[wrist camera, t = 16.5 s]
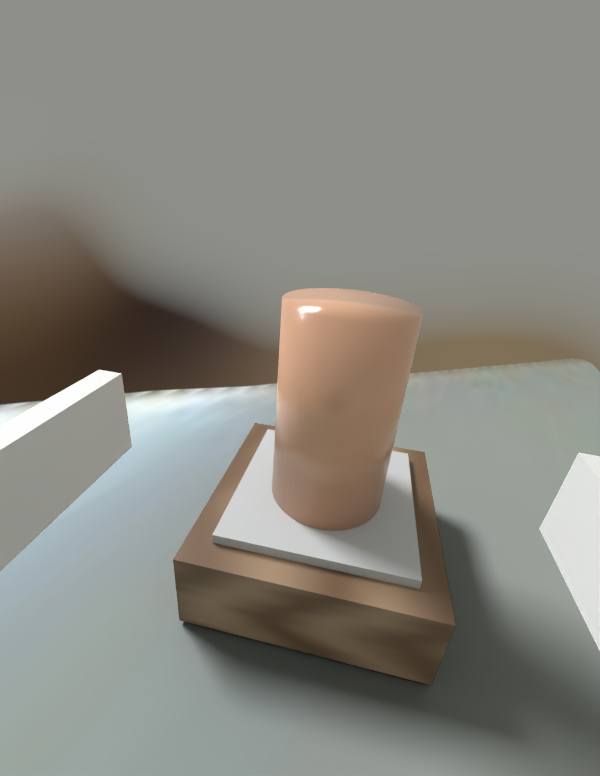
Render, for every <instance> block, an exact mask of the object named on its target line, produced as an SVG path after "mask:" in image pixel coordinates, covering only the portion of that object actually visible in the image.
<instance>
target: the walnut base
mask: <svg viewBox="0 0 600 776" xmlns="http://www.w3.org/2000/svg"><path fill="white" fill-rule="evenodd" d="M274 439H275V426H269V425H263V424H258V423H255V424H254V426H253V428H252V429H251V431H250V433H249V434H248V436H247V438H246V439H245V441H244V443H243V444H242V446H241V448H240V449H239V451H238V453H237V454H236V456H235V458H234V459H233V461H232V463H231V464H230V466H229V468H228V469H227V471H226V473H225V474H224V476H223V478H222V479H221V481H220V483H219V484H218V486H217V488H216V489H215V491H214V493H213V494H212V496H211V498H210V499H209V501H208V503H207V504H206V506H205V508H204V509H203V511H202V513H201V514H200V516H199V517H198V519H197V521H196V522H195V524H194V526H193V527H192V529H191V531H190V532H189V534H188V536H187V537H186V539H185V541H184V542H183V544H182V546H181V547H180V549H179V551H178V552H177V554H176V556H175V557H174V559H173V562H174V572H175V581H176V591H177V600H178V610H179V619H180V620H181V621H185V622H189V623H192V624H196V625H200V626H204V627H208V628H212V629H216V630H220V631H223V632H227V633H231V634H235V635H239V636H243V637H247V638H250V639H254V640H258V641H262V642H266V643H270V644H274V645H278V646H281V647H285V648H289V649H293V650H297V651H301V652H305V653H308V654H312V655H316V656H320V657H324V658H328V659H332V660H336V661H339V662H343V663H347V664H351V665H355V666H359V667H363V668H366V669H370V670H374V671H378V672H382V673H386V674H390V675H394V676H397V677H401V678H405V679H409V680H413V681H417V682H421V683H424V684H428V685H431V684H432V681H433V679H434V677H435V674H436V672H437V669H438V667H439V665H440V662H441V660H442V658H443V655H444V653H445V650H446V648H447V646H448V643H449V641H450V639H451V636H452V634H453V632H454V629H455V627H456V624H455V618H454V613H453V607H452V602H451V596H450V591H449V585H448V580H447V574H446V568H445V563H444V557H443V552H442V546H441V541H440V535H439V530H438V524H437V519H436V513H435V508H434V502H433V497H432V491H431V486H430V480H429V474H428V469H427V463H426V458H425V452H420V451H414V450H408V449H402V448H397V447H393V450H392V454H391V459H390V463H389V468H388V472H387V477H386V481H385V485H384V490H383V494H382V499H381V503H380V507H379V509H378V511H377V513H376V514H375V515H374V517H373V518H371V519H370V520H369V521H368V522H366V523H365V524H363V525H361V526H358V527H355V528H352V529H348V530H339V531H330V530H321V529H316V528H312V527H309V526H306V525H304V524H301V523H299V522H297V521H295V520H294V519H292V518H291V517H289V516H288V515H287V514H286V513H284V512H283V511H282V509H281V508H280V507H279V506H278V504H277V503H276V501H275V499H274V497H273V493H272V475H273V457H274Z"/></svg>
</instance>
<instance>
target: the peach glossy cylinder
mask: <svg viewBox="0 0 600 776" xmlns="http://www.w3.org/2000/svg"><path fill="white" fill-rule="evenodd" d="M422 316H423V311H422V310H421V309H420V308H419V307H417V306H416V305H414V304H412V303H410V302H407V301H405V300H402V299H398V298H395V297H391V296H387V295H382V294H378V293H372V292H366V291H359V290H348V289H335V288H314V289H313V288H311V289H301V290H295V291H291V292H289V293H286V294H285V295H284V296H283V297H282V312H281V330H280V348H279V367H278V384H277V402H276V421H275V439H274V457H273V475H272V493H273V497H274V499H275V501H276V503H277V504H278V506H279V507H280V508H281V509H282V511H283V512H284V513H286V514H287V515H288V516H289V517H291V518H292V519H294V520H295V521H297V522H299V523H301V524H304V525H306V526H309V527H312V528H316V529H321V530H330V531H339V530H348V529H352V528H355V527H358V526H361V525H363V524H365V523H366V522H368V521H369V520H370V519H371V518H373V517H374V515H375V514H376V513H377V511H378V509H379V507H380V503H381V499H382V494H383V490H384V485H385V481H386V477H387V472H388V468H389V463H390V459H391V454H392V450H393V445H394V441H395V436H396V432H397V428H398V423H399V419H400V414H401V410H402V405H403V401H404V396H405V392H406V387H407V383H408V379H409V374H410V370H411V365H412V361H413V356H414V352H415V347H416V343H417V338H418V334H419V330H420V325H421V320H422Z"/></svg>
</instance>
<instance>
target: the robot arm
mask: <svg viewBox="0 0 600 776" xmlns="http://www.w3.org/2000/svg"><path fill="white" fill-rule="evenodd" d="M131 447H132V445H131V438H130V431H129V424H128V416H127V409H126V402H125V395H124V388H123V381H122V374H120V373H115V372H108V371H103V370H98V371H96V372H94V373H93V374H91V375H89V376H87V377H86V378H84V379H82V380H80V381H79V382H77V383H75V384H73V385H71V386H70V387H68V388H66V389H64V390H63V391H61V392H59V393H57V394H55V395H54V396H52V397H50V398H48V399H47V400H45V401H43V402H41V403H40V404H38V405H36V406H34V407H32V408H31V409H29V410H27V411H25V412H24V413H22V414H20V415H18V416H17V417H15V418H13V419H11V420H10V421H8V422H6V423H4V424H2V425H1V426H0V571H1V570H2V569H3V568H4V567H5V566H6V565H7V564H8V563H9V562H11V561H12V560H13V559H14V558H15V557H16V556H17V555H18V554H19V553H20V552H21V551H22V550H23V549H24V548H25V547H26V546H27V545H28V544H30V543H31V542H32V541H33V540H34V539H35V538H36V537H37V536H38V535H39V534H40V533H41V532H42V531H43V530H44V529H45V528H46V527H47V526H49V525H50V524H51V523H52V522H53V521H54V520H55V519H56V518H57V517H58V516H59V515H60V514H61V513H62V512H63V511H64V510H65V509H66V508H68V507H69V506H70V505H71V504H72V503H73V502H74V501H75V500H76V499H77V498H78V497H79V496H80V495H81V494H82V493H83V492H84V491H85V490H87V489H88V488H89V487H90V486H91V485H92V484H93V483H94V482H95V481H96V480H97V479H98V478H99V477H100V476H101V475H102V474H103V473H104V472H106V471H107V470H108V469H109V468H110V467H111V466H112V465H113V464H114V463H115V462H116V461H117V460H118V459H119V458H120V457H121V456H122V455H123V454H125V453H126V452H127V451H128V450H129V449H130V448H131ZM540 531H541V533H542V535H543V537H544V539H545V541H546V543H547V545H548V547H549V549H550V551H551V553H552V555H553V557H554V559H555V561H556V563H557V565H558V567H559V569H560V572H561V574H562V576H563V578H564V580H565V582H566V584H567V586H568V588H569V590H570V592H571V594H572V596H573V598H574V600H575V602H576V604H577V606H578V608H579V610H580V612H581V614H582V616H583V618H584V620H585V622H586V624H587V626H588V628H589V630H590V632H591V634H592V636H593V638H594V640H595V642H596V644H597V646H598V648H599V650H600V456H595V455H589V454H583V453H578V455H577V457H576V459H575V461H574V463H573V465H572V467H571V469H570V471H569V473H568V474H567V476H566V478H565V480H564V482H563V484H562V486H561V488H560V490H559V492H558V494H557V496H556V498H555V500H554V502H553V503H552V505H551V507H550V509H549V511H548V513H547V515H546V517H545V519H544V521H543V523H542V525H541V527H540Z"/></svg>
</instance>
